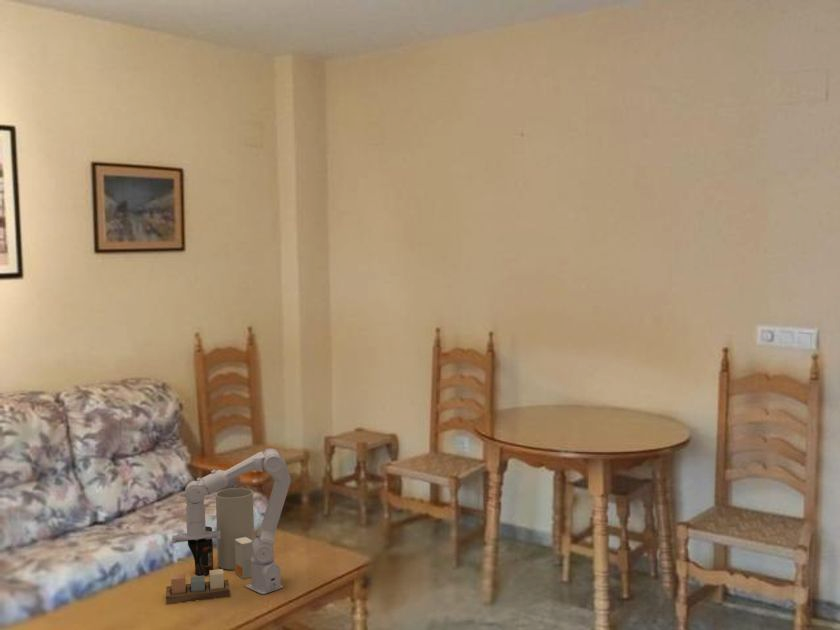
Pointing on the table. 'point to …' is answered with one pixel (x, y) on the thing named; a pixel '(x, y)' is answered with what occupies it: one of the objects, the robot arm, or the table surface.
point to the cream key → (216, 579)
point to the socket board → (197, 593)
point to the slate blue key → (197, 583)
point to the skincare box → (243, 557)
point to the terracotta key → (178, 583)
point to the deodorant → (205, 557)
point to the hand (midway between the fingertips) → (197, 562)
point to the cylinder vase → (233, 522)
